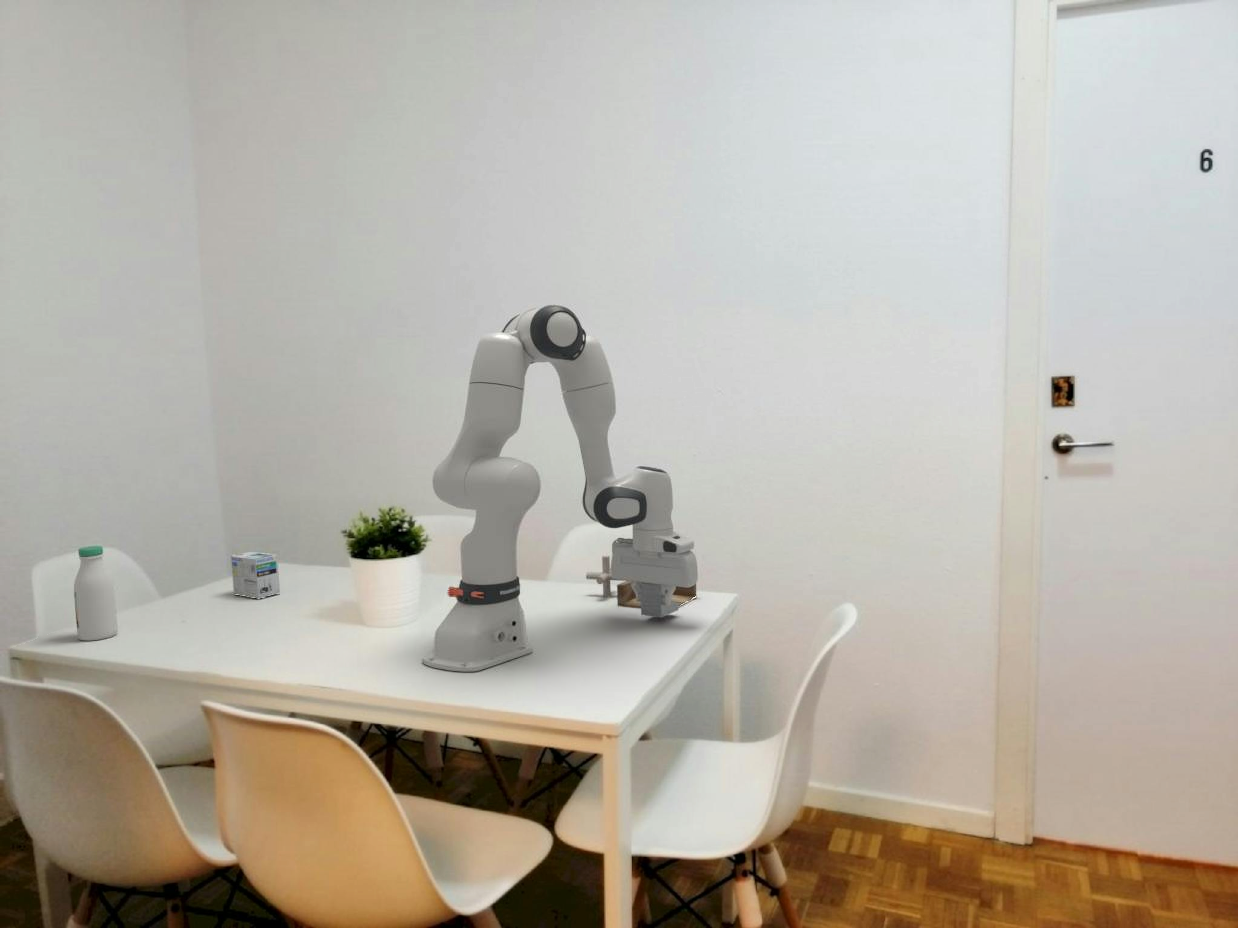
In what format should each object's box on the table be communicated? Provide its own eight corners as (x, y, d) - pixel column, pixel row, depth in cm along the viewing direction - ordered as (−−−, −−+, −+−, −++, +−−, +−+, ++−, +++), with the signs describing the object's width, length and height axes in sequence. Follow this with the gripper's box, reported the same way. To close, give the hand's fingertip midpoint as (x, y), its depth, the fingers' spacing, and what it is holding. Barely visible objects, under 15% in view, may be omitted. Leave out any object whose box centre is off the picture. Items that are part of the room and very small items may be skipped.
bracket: (661, 617, 196) (661, 585, 196) (641, 614, 199) (641, 583, 198) (678, 609, 203) (678, 579, 203) (658, 607, 206) (658, 576, 205)
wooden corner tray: (670, 611, 207) (670, 590, 206) (617, 605, 214) (617, 584, 213) (696, 597, 219) (696, 577, 218) (645, 592, 226) (644, 572, 225)
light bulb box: (281, 594, 235) (278, 553, 234) (258, 600, 229) (255, 558, 228) (255, 590, 240) (252, 550, 239) (232, 595, 235) (229, 555, 234)
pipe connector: (581, 600, 220) (579, 559, 219) (594, 590, 229) (593, 551, 228) (620, 602, 217) (619, 561, 216) (632, 592, 226) (630, 552, 225)
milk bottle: (126, 632, 202) (118, 544, 200) (97, 642, 195) (89, 551, 193) (98, 630, 205) (90, 543, 203) (69, 640, 197) (61, 550, 195)
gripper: (604, 539, 200) (605, 600, 201) (687, 546, 189) (687, 611, 190) (619, 534, 205) (620, 594, 206) (700, 542, 195) (701, 605, 196)
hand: (653, 602), depth 198 cm, fingers closed on bracket, 5 cm apart
